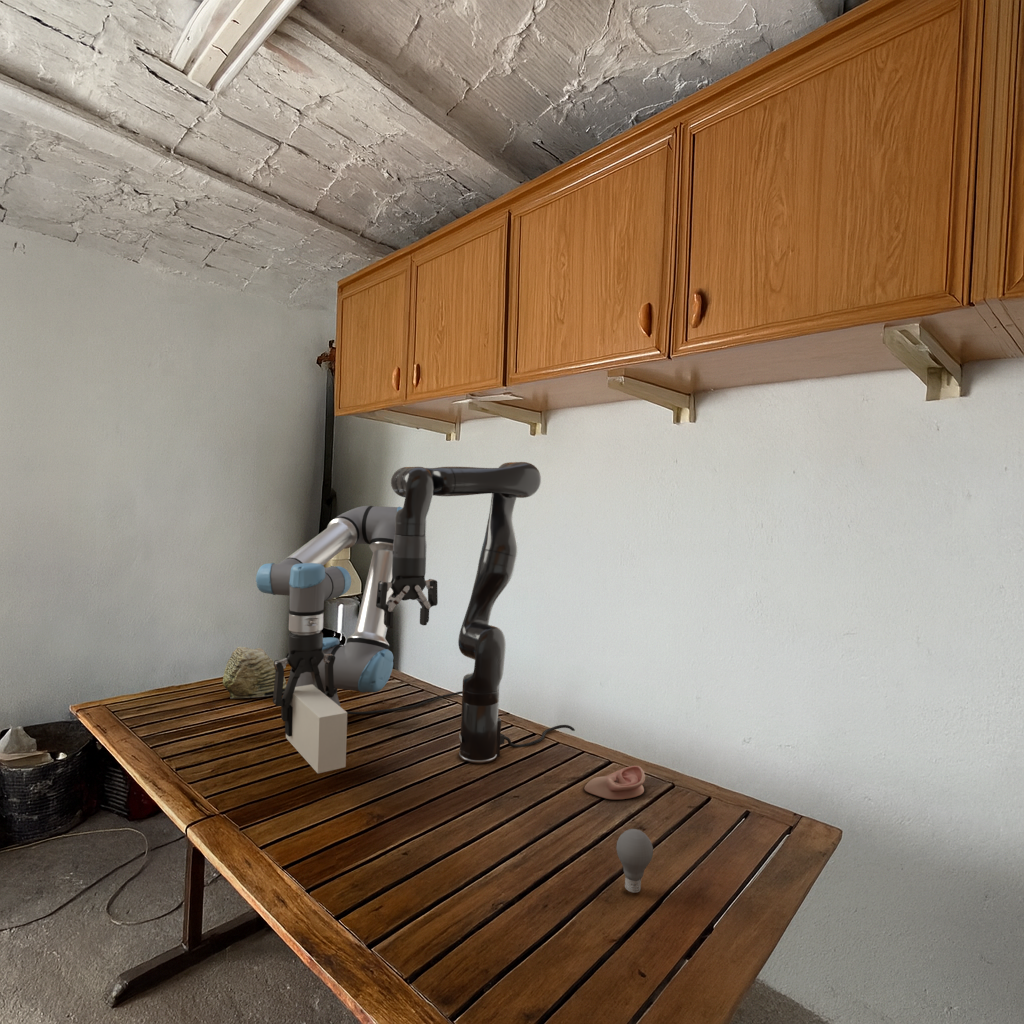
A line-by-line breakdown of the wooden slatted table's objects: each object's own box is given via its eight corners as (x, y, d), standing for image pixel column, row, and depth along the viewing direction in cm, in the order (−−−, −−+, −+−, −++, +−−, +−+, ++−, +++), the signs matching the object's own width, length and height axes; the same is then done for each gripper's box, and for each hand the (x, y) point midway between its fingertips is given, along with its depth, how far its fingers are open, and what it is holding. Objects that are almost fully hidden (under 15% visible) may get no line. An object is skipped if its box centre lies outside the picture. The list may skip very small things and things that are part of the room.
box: (285, 737, 146) (287, 688, 146) (311, 732, 150) (312, 684, 149) (317, 773, 129) (319, 717, 129) (345, 767, 132) (347, 712, 132)
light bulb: (610, 879, 108) (613, 822, 108) (644, 879, 109) (647, 822, 109) (619, 902, 102) (622, 840, 102) (655, 901, 103) (658, 840, 103)
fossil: (218, 695, 195) (220, 647, 195) (278, 685, 208) (279, 640, 207) (228, 703, 189) (230, 653, 188) (289, 692, 201) (290, 645, 201)
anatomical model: (583, 778, 139) (588, 757, 150) (582, 795, 139) (587, 774, 150) (645, 786, 136) (645, 764, 147) (644, 804, 136) (644, 781, 148)
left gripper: (267, 639, 136) (264, 745, 137) (351, 630, 147) (348, 728, 148) (258, 632, 142) (255, 733, 143) (339, 624, 153) (337, 718, 154)
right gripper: (387, 557, 136) (384, 632, 136) (445, 556, 144) (442, 626, 145) (373, 553, 142) (370, 625, 142) (429, 553, 150) (426, 620, 151)
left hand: (303, 731), depth 145 cm, fingers closed on box, 6 cm apart
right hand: (406, 626), depth 144 cm, fingers open, 8 cm apart
